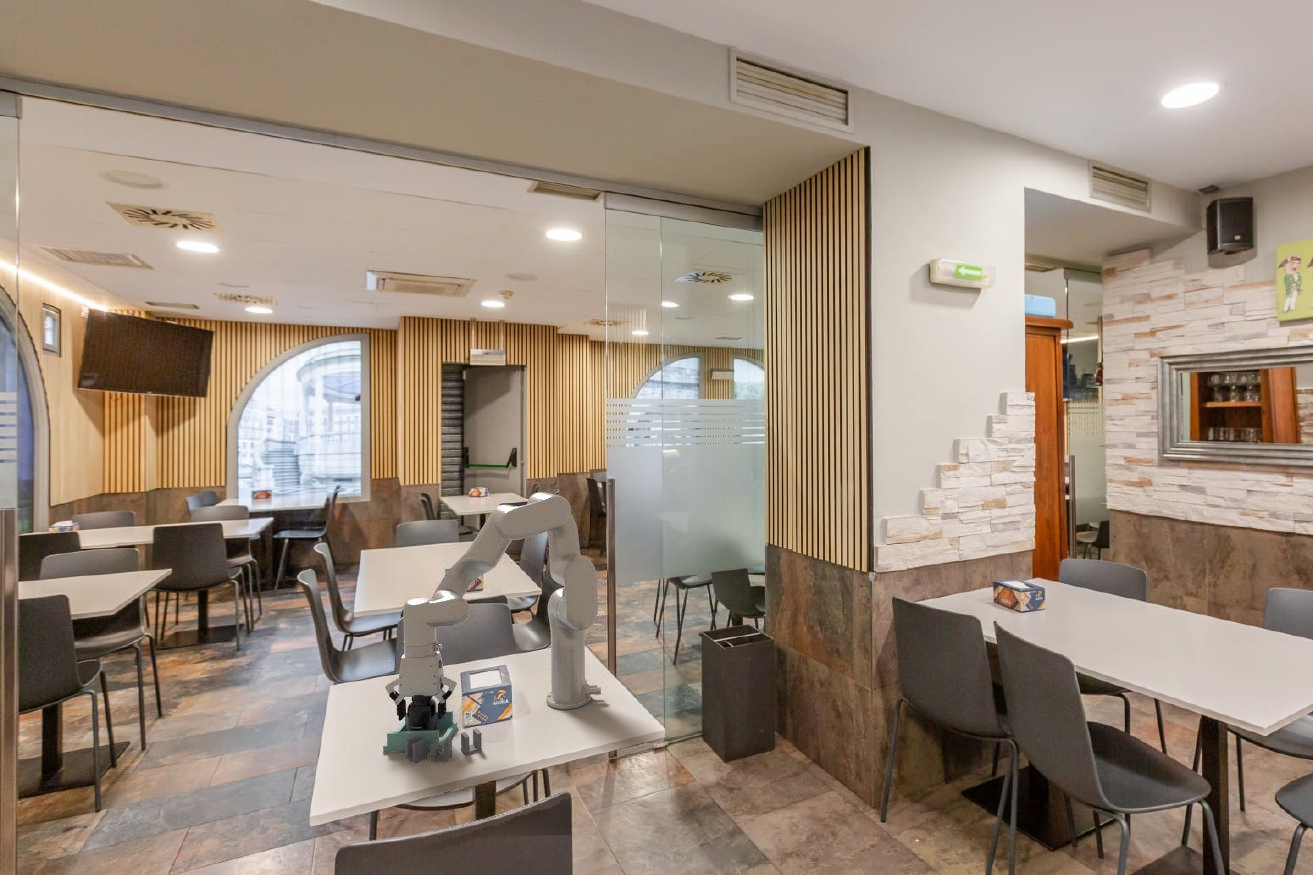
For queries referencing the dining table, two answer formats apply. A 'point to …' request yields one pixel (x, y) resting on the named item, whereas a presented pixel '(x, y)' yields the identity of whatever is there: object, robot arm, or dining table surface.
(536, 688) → the dining table surface
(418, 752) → the clip
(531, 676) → the dining table surface
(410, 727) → the supplement bottle
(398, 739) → the end holder
